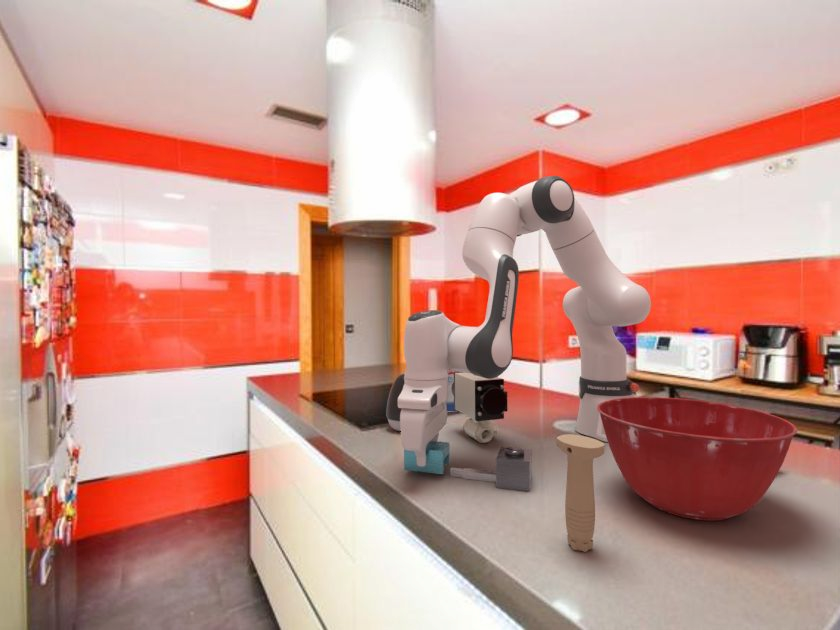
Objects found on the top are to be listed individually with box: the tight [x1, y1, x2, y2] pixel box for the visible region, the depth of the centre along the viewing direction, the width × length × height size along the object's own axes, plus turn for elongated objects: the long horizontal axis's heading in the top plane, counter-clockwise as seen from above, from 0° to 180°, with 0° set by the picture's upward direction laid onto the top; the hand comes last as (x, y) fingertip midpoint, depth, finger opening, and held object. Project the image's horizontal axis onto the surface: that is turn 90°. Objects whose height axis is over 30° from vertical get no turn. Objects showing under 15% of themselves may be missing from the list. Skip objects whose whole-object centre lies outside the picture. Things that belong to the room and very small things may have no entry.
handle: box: [556, 433, 605, 553], centre depth 62 cm, size 5×6×15 cm
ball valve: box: [452, 372, 508, 444], centre depth 112 cm, size 18×8×18 cm, turn 19°
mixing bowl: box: [597, 396, 798, 521], centre depth 76 cm, size 28×28×15 cm
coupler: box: [449, 446, 533, 493], centre depth 86 cm, size 16×7×6 cm, turn 72°
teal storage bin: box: [403, 441, 451, 475], centre depth 90 cm, size 8×6×4 cm
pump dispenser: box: [385, 373, 405, 432], centre depth 121 cm, size 10×10×15 cm
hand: (427, 459), depth 90 cm, fingers closed on teal storage bin, 5 cm apart
